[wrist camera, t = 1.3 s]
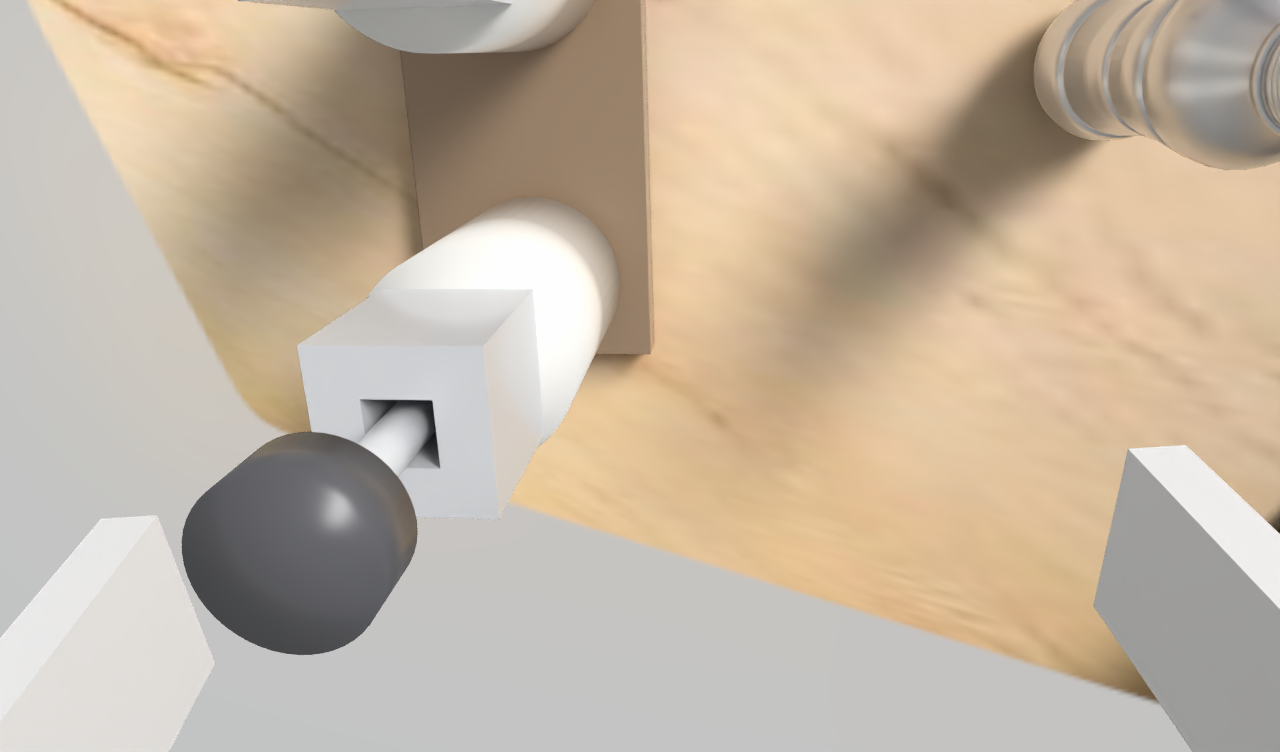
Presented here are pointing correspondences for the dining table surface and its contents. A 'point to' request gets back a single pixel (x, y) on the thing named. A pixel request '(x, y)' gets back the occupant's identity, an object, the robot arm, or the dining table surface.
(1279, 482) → the dining table surface
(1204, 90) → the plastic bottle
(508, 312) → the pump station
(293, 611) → the plunger
